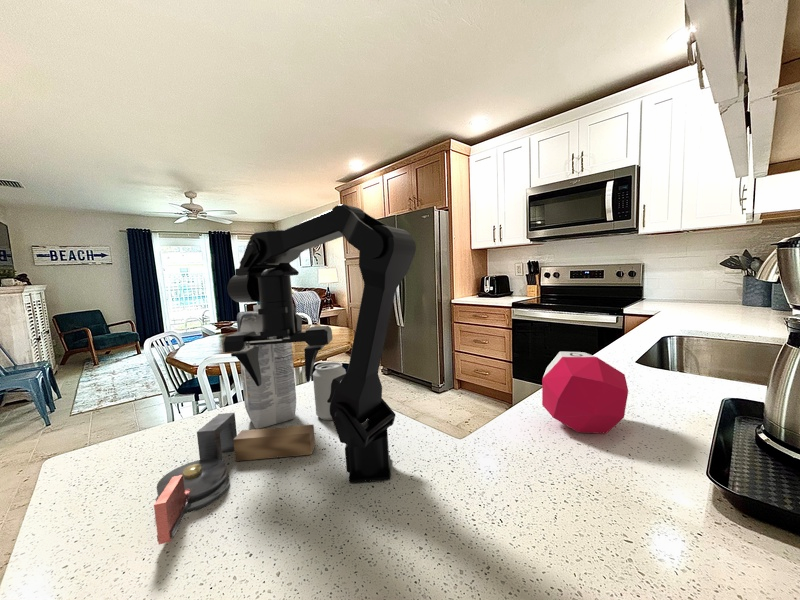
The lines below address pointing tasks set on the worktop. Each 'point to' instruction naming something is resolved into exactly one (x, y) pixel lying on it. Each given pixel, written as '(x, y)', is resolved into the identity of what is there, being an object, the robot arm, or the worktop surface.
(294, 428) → the brown rectangular bar
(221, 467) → the handwheel
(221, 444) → the iron eye
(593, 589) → the worktop surface
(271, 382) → the juice carton
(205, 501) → the disc
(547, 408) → the decorative object
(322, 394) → the can
